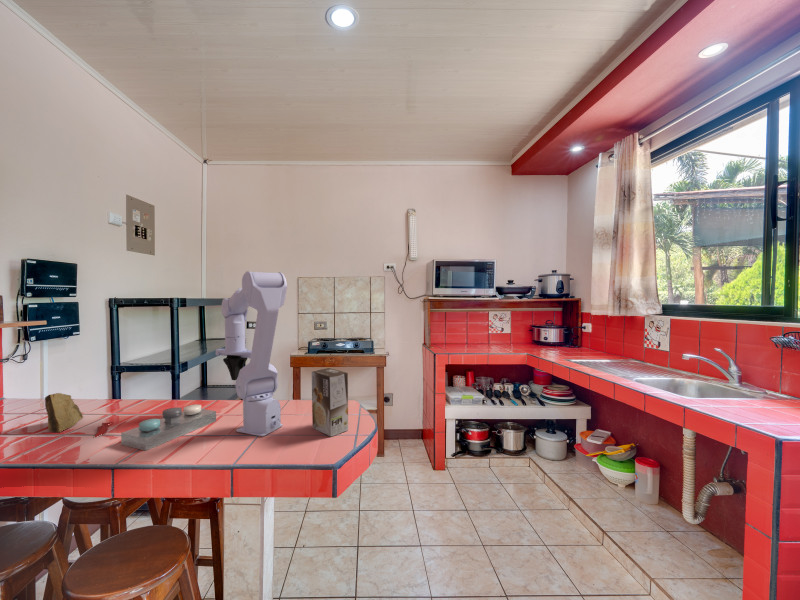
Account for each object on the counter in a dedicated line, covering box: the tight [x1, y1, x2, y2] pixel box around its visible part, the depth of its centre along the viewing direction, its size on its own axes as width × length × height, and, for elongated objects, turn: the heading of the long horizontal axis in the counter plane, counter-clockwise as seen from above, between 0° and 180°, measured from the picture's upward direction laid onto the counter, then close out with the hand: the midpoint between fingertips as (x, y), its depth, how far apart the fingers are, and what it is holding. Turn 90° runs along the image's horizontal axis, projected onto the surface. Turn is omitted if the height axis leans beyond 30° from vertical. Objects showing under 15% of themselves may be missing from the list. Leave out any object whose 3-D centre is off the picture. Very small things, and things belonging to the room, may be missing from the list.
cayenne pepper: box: [93, 421, 113, 439], centre depth 96 cm, size 12×5×2 cm, turn 9°
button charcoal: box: [161, 407, 183, 424], centre depth 95 cm, size 4×4×4 cm
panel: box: [120, 408, 217, 452], centre depth 95 cm, size 9×20×3 cm, turn 159°
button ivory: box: [182, 403, 202, 416], centre depth 100 cm, size 4×4×4 cm
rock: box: [44, 392, 84, 433], centre depth 100 cm, size 11×9×10 cm
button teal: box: [138, 418, 161, 433], centre depth 89 cm, size 4×4×4 cm
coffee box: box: [311, 367, 349, 437], centre depth 97 cm, size 9×6×16 cm
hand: (235, 379), depth 110 cm, fingers closed
